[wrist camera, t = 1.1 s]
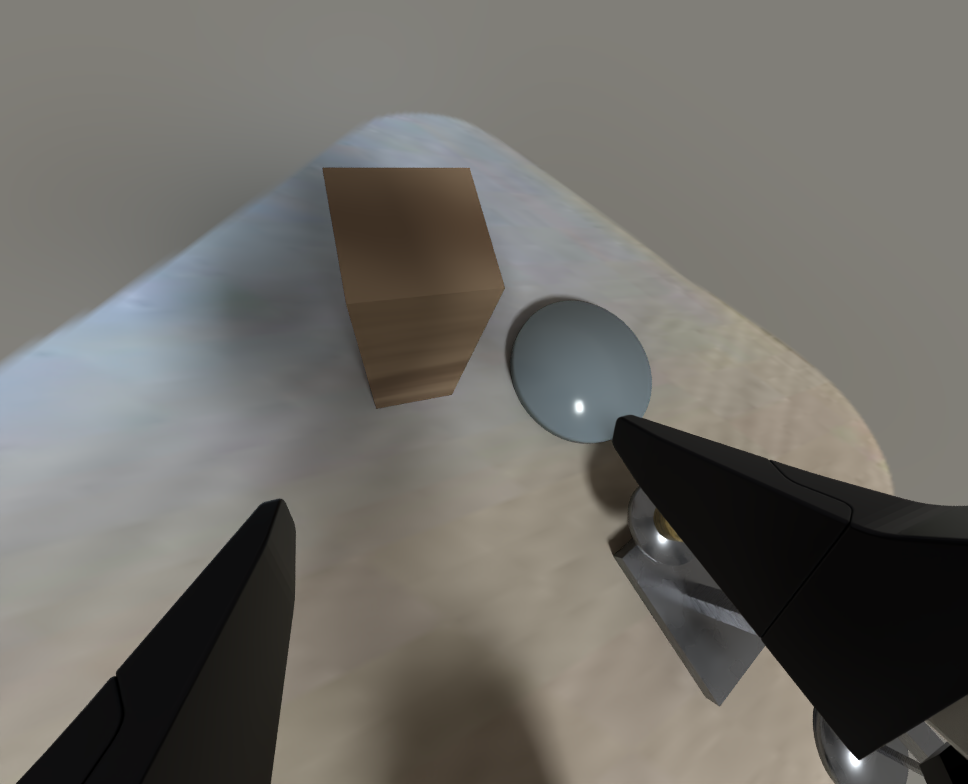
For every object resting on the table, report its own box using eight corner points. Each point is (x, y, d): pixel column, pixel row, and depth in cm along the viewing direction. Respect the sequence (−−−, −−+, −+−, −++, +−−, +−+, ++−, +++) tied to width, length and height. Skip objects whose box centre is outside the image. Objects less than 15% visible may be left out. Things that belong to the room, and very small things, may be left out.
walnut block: (451, 394, 24) (505, 288, 11) (376, 408, 22) (346, 304, 10) (436, 328, 25) (469, 168, 13) (363, 338, 23) (322, 167, 11)
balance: (789, 675, 23) (1051, 797, 14) (739, 748, 21) (1006, 949, 12) (642, 463, 25) (784, 444, 16) (584, 511, 23) (707, 522, 14)
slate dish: (668, 397, 28) (677, 393, 27) (567, 473, 24) (574, 472, 23) (589, 287, 29) (595, 280, 28) (481, 343, 25) (484, 337, 24)
